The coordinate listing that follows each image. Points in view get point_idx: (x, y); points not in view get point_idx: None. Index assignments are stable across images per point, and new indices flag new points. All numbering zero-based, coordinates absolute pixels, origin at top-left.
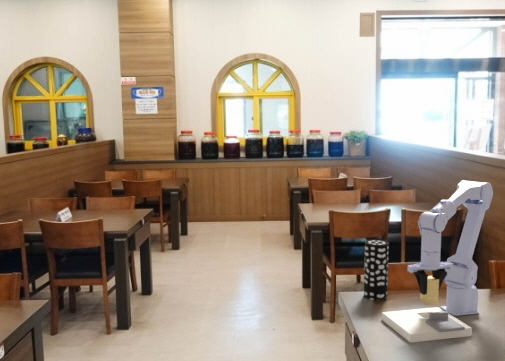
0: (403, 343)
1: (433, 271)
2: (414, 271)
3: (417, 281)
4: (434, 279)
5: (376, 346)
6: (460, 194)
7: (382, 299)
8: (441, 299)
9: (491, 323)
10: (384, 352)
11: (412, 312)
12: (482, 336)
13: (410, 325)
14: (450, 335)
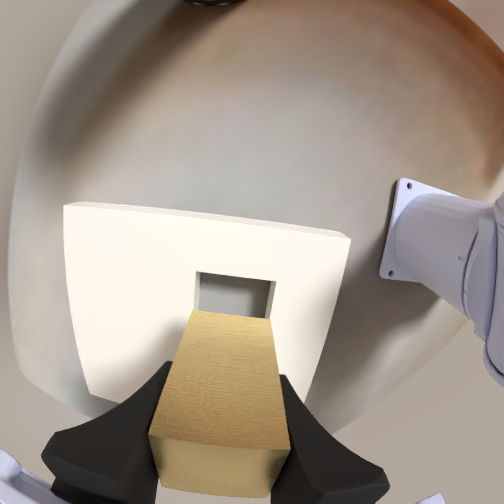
0: (83, 373)
1: (298, 496)
2: (43, 487)
3: (121, 404)
4: (226, 495)
5: (29, 352)
6: None
7: (218, 3)
8: (450, 109)
9: (417, 354)
10: (40, 378)
11: (181, 255)
12: (316, 415)
13: (109, 356)
14: None
